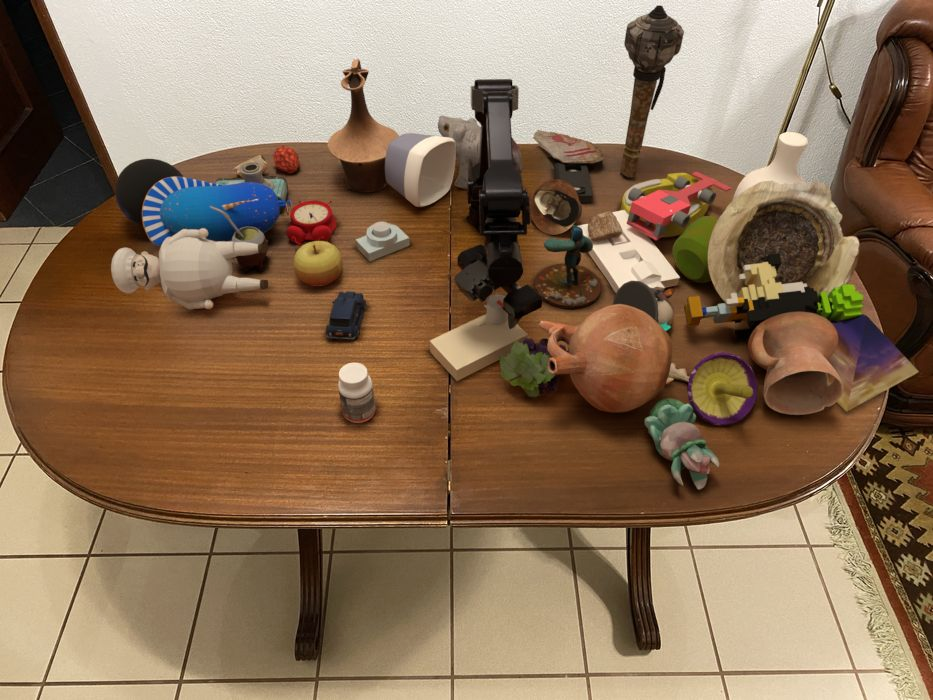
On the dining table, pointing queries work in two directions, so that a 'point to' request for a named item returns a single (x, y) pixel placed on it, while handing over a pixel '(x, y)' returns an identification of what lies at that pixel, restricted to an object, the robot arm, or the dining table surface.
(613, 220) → the stone
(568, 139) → the stone artifact
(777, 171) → the vase
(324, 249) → the apple
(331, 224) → the alarm clock
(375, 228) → the flush button
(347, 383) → the pill bottle
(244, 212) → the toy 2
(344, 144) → the brown clay flask
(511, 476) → the dining table surface
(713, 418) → the decorative mushroom
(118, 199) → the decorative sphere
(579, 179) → the vhs tape
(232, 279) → the figurine
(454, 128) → the sculpture
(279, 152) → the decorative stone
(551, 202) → the brown hollow round piece
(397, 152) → the bowl
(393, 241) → the control knob block
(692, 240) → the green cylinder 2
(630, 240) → the building model
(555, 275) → the figurine
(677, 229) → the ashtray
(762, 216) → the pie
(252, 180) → the camera
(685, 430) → the toy
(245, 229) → the mate gourd
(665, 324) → the figurine
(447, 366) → the panel
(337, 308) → the toy car
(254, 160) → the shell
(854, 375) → the decorative sculpture
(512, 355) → the fruit
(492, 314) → the knob
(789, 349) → the ceramic jug
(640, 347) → the jug
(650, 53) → the mace
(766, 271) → the toy
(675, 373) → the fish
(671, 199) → the race car
